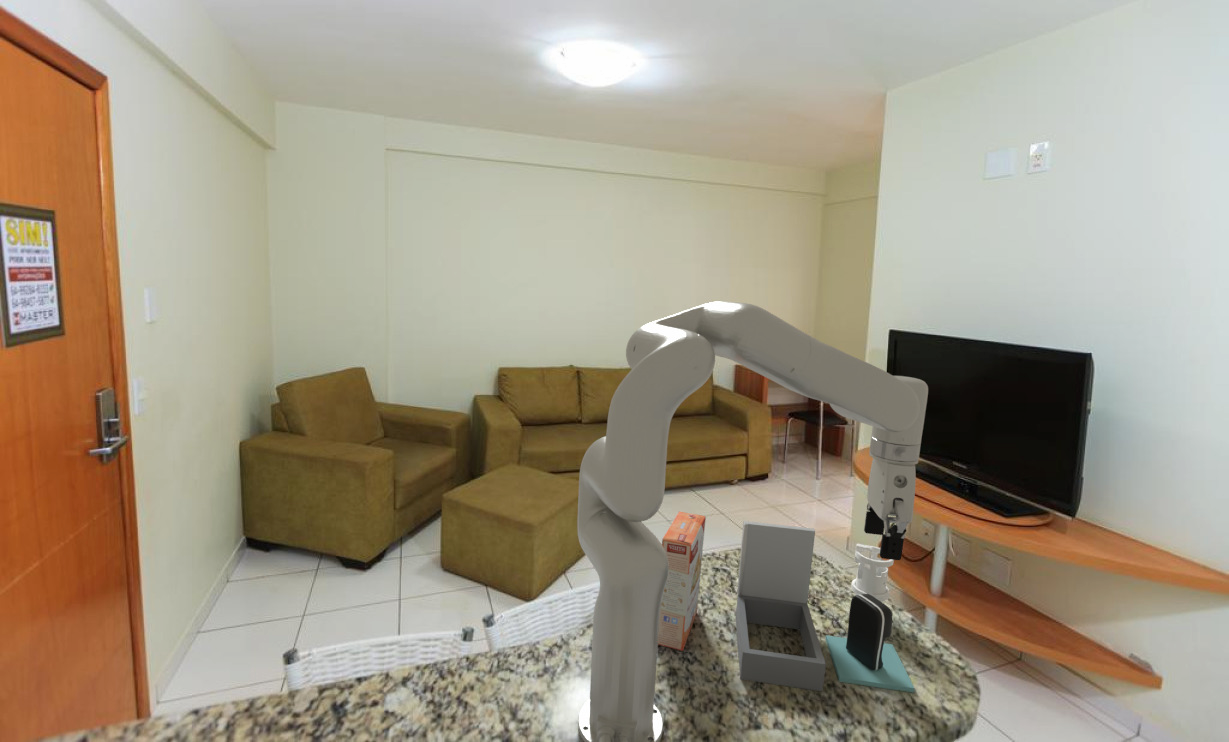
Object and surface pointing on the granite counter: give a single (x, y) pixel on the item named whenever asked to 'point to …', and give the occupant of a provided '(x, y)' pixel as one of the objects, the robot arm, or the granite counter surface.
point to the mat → (860, 674)
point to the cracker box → (681, 579)
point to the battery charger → (868, 629)
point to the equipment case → (777, 603)
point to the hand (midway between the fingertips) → (881, 545)
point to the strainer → (871, 573)
